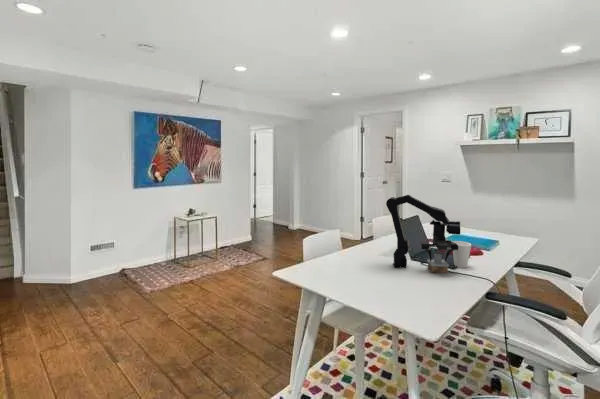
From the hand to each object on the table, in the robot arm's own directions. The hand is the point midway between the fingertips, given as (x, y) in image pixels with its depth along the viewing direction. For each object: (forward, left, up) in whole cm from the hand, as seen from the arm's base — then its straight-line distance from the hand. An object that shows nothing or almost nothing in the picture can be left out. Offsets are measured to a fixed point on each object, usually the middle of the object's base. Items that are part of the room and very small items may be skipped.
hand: (437, 261), depth 181 cm
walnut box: (0, 0, -5) cm, 5 cm away
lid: (0, 0, -1) cm, 1 cm away
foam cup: (+15, +9, -6) cm, 18 cm away
